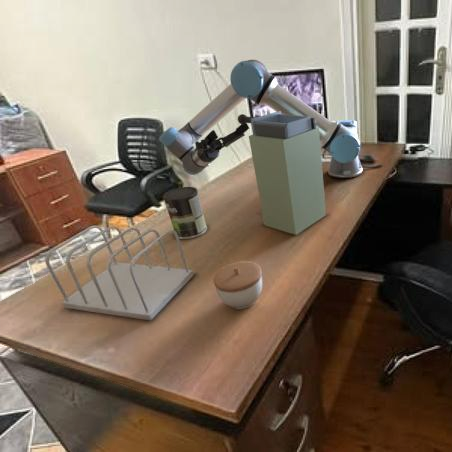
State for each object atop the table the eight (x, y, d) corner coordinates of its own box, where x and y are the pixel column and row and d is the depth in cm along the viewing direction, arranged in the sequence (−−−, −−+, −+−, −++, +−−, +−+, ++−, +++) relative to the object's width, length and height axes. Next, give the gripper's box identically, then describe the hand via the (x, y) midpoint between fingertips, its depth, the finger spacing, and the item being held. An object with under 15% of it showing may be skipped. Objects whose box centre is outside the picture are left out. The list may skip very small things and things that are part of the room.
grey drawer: (313, 128, 106) (312, 113, 104) (286, 138, 97) (284, 122, 95) (254, 122, 120) (252, 109, 118) (226, 130, 112) (223, 116, 109)
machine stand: (326, 215, 121) (317, 116, 105) (295, 235, 110) (281, 128, 94) (295, 206, 129) (283, 114, 113) (263, 224, 118) (245, 124, 102)
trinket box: (255, 318, 78) (248, 284, 73) (212, 313, 80) (202, 280, 76) (272, 287, 87) (266, 256, 83) (233, 284, 89) (225, 253, 85)
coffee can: (184, 242, 110) (171, 202, 104) (169, 233, 117) (157, 194, 110) (213, 229, 117) (203, 190, 110) (198, 221, 123) (187, 184, 117)
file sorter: (64, 309, 85) (34, 255, 78) (118, 267, 100) (97, 219, 93) (151, 321, 79) (127, 264, 72) (195, 275, 94) (179, 224, 87)
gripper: (236, 153, 143) (263, 131, 128) (182, 172, 126) (206, 148, 111) (227, 136, 142) (253, 112, 127) (171, 153, 125) (194, 127, 110)
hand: (231, 129), depth 119 cm, fingers open, 13 cm apart
